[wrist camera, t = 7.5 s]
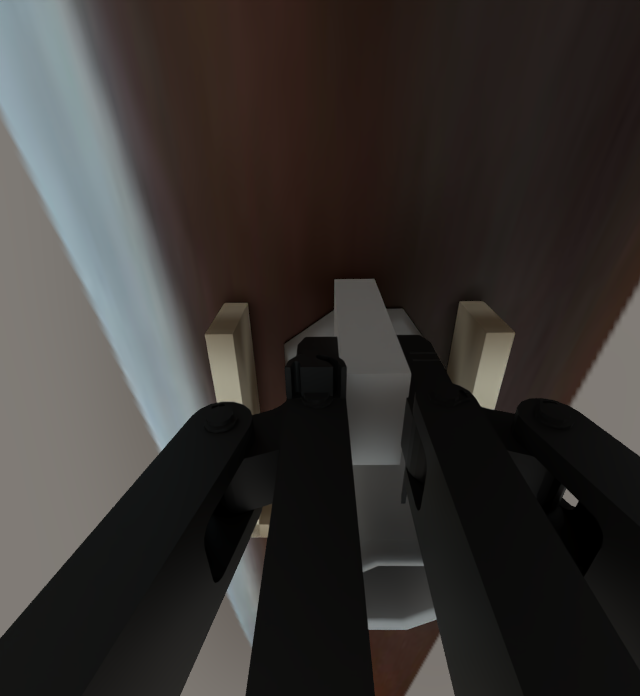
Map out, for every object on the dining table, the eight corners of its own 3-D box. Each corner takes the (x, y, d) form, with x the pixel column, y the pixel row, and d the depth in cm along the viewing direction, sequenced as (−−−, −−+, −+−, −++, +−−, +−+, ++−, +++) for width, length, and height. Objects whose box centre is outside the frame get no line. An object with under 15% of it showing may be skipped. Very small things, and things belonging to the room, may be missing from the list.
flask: (447, 411, 19) (555, 647, 10) (311, 445, 20) (302, 682, 11) (418, 280, 15) (543, 460, 7) (258, 330, 17) (185, 538, 8)
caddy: (224, 302, 16) (204, 334, 13) (483, 301, 16) (515, 332, 13) (251, 489, 21) (241, 537, 19) (442, 489, 21) (459, 537, 19)
